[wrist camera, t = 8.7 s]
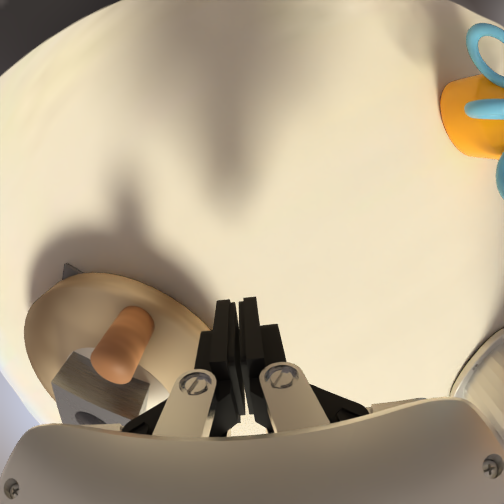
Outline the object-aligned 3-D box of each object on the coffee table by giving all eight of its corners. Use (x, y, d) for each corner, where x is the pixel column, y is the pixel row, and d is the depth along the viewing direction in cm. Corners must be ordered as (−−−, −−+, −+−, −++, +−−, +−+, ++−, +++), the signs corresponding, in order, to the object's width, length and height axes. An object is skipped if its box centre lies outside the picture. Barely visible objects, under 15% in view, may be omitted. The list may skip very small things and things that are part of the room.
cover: (150, 383, 16) (136, 422, 12) (143, 425, 17) (133, 458, 14) (73, 350, 15) (50, 382, 12) (79, 398, 17) (63, 427, 13)
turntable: (281, 342, 18) (295, 415, 11) (193, 452, 22) (187, 500, 16) (47, 229, 15) (-16, 260, 9) (42, 381, 19) (16, 420, 13)
